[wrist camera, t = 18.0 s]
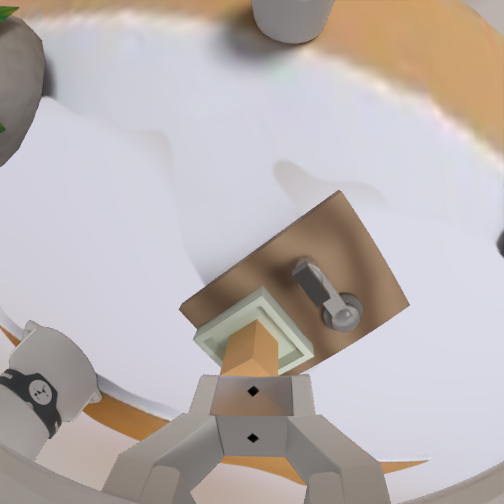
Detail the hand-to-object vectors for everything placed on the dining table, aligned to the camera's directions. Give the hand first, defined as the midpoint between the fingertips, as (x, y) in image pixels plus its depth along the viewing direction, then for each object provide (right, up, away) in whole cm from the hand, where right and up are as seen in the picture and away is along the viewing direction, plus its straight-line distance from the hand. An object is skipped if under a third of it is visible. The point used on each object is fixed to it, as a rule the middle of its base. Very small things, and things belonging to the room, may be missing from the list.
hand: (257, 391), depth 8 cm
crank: (+7, 0, +22) cm, 23 cm away
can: (+4, +29, +16) cm, 33 cm away
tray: (0, -6, +26) cm, 26 cm away
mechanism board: (+5, -2, +26) cm, 26 cm away
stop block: (0, -6, +25) cm, 26 cm away
